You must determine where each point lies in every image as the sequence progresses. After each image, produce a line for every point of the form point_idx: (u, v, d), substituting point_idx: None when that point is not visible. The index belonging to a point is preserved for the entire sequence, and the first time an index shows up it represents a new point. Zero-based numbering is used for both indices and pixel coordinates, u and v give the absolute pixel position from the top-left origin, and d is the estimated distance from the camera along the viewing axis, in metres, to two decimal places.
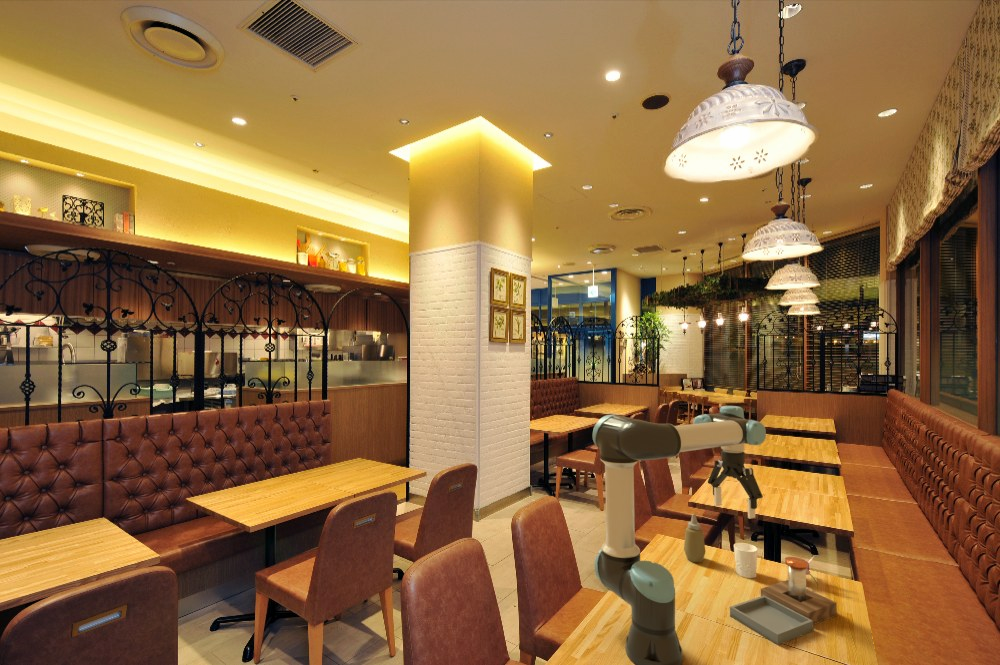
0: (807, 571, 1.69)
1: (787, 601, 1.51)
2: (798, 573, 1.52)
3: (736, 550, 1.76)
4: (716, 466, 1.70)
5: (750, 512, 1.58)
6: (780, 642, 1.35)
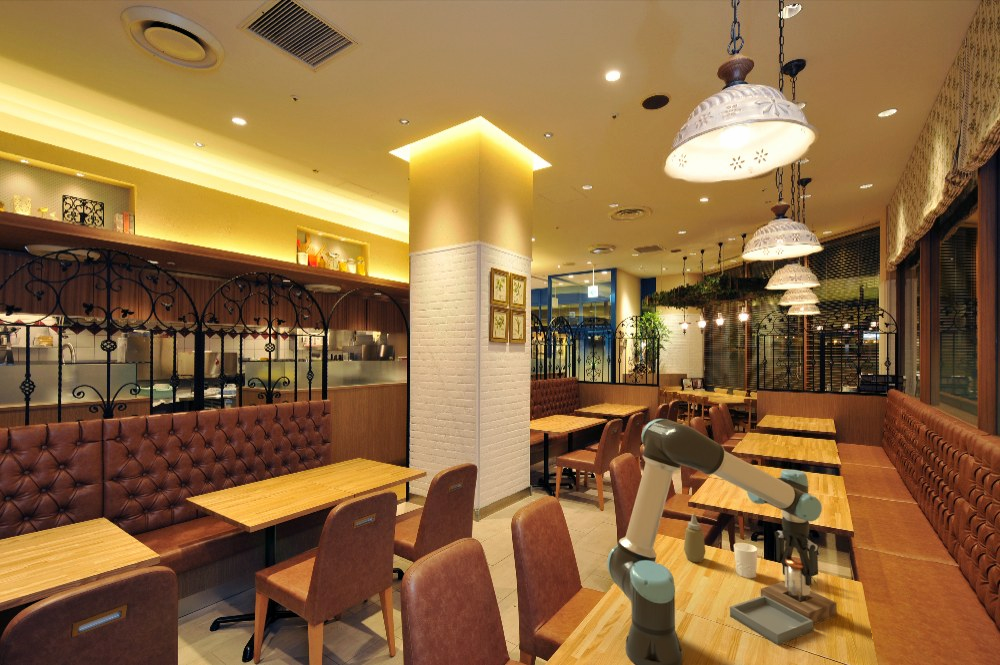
0: None
1: (787, 601, 1.51)
2: (798, 573, 1.52)
3: (736, 550, 1.76)
4: (778, 538, 1.59)
5: (804, 589, 1.51)
6: (780, 642, 1.35)
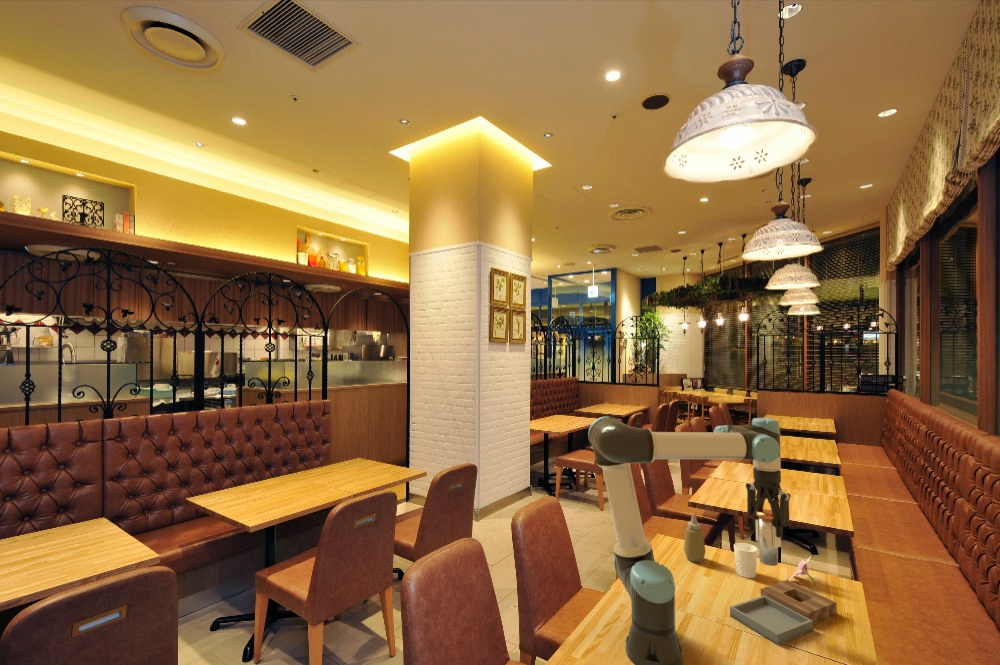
0: (805, 571, 1.69)
1: (787, 601, 1.51)
2: (769, 525, 1.44)
3: (736, 550, 1.76)
4: (749, 490, 1.51)
5: (775, 541, 1.43)
6: (780, 642, 1.35)
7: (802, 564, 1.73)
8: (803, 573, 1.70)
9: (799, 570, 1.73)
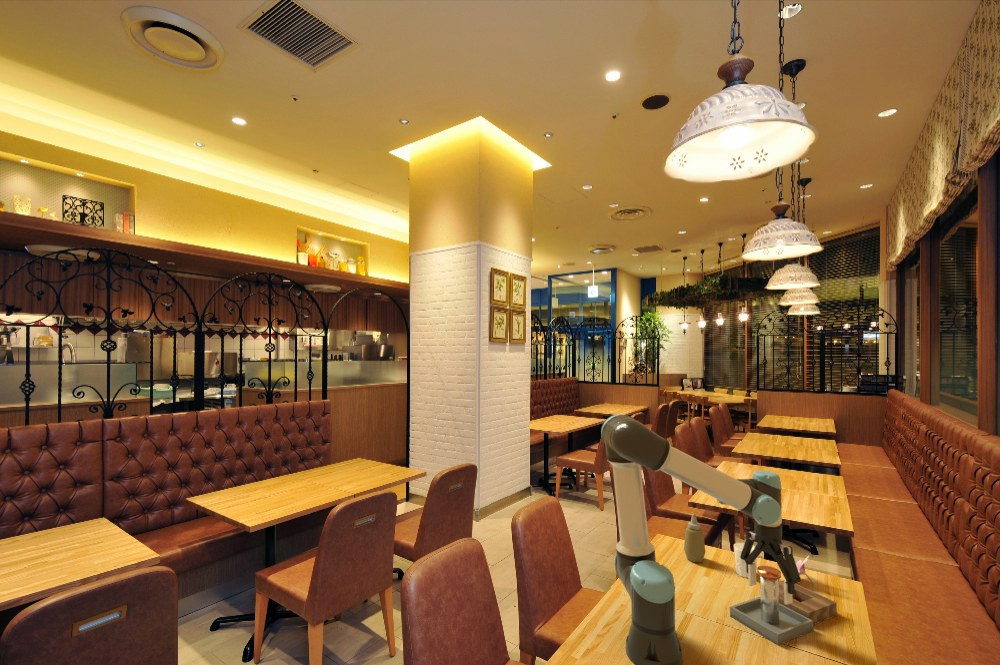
0: (802, 571, 1.69)
1: None
2: (770, 584, 1.44)
3: (736, 550, 1.76)
4: (748, 539, 1.51)
5: (787, 597, 1.40)
6: (780, 642, 1.35)
7: (800, 564, 1.73)
8: (801, 573, 1.70)
9: None
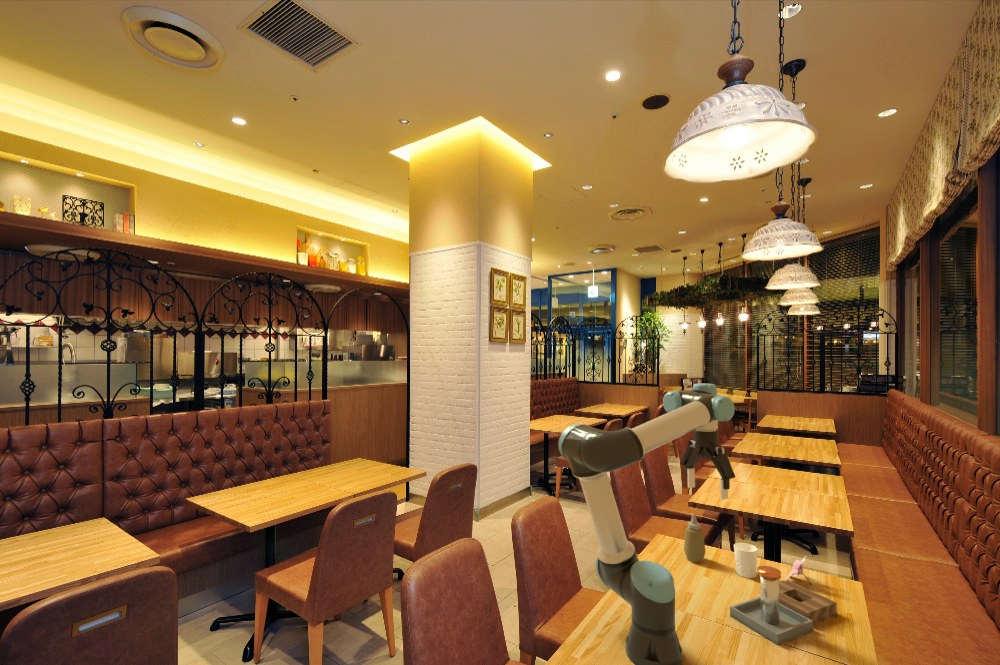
0: (800, 571, 1.69)
1: (787, 601, 1.51)
2: (770, 584, 1.44)
3: (736, 550, 1.76)
4: (689, 446, 1.63)
5: (722, 493, 1.51)
6: (780, 642, 1.35)
7: (797, 564, 1.73)
8: (799, 573, 1.70)
9: (794, 570, 1.73)
